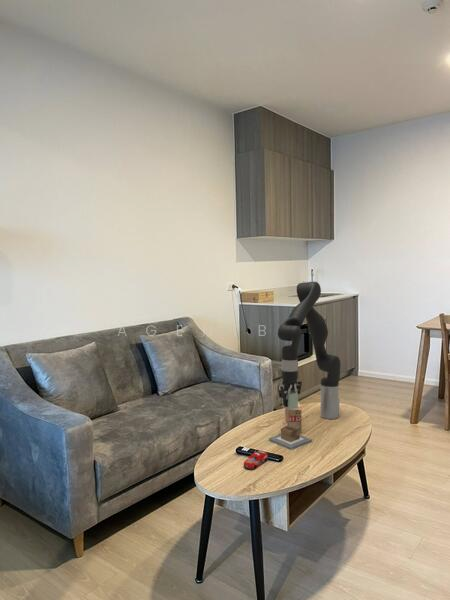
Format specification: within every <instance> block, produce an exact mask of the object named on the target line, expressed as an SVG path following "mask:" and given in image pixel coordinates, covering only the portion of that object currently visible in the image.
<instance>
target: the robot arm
mask: <svg viewBox="0 0 450 600" xmlns="http://www.w3.org/2000/svg"><path fill="white" fill-rule="evenodd" d="M321 293H322V288H321V284H320V283H319V282H318V281H306V282H300V283H298V284H297V286H296V294H297V298H298V300H299V303H298V304H297V305H295V306H294V308H293V309H292V310H291V312H290V314H289V316H288V318H287V319H285V320H284V321H283V322H282V323H281V324H280V325H279V327H278V331H277V337H278V339H279V340H281V341H287V342H291V344H290V345H285V346H282V348H281V379H282V383H281V385H277V392H278V397H279V398H280V399H282V398H283V406H284V407H288V394H290V391H292V392H297V393H298V395H300V394H301V391H302V384H303V382H302V381H300V380H299V362H298V361H299V360H298V352H299V351H298V350H299V345H300V341H301V338H302V329H301V327H302V326H303V324H304V322H305V321H306V324H307V328H308V331H309V334H310V338H311V342H312V345H313V349H314V355H315V359H316V364H317V367H318V369H319V370H320V371H323V372H326V373H327V377H326V376H325V377H323V378H321V379H320V417H321V418H323V419H327V420H336V419H338V418H339V417H340V398H339V393H340V391H339V381H340V378H341V360H340V357H339V356H338V355H333V354H329V353H327V350H326V341H327V338H328V335H329V330H328V326H327V322H326V319H325V318H324V317H323V316H322V314H320V313H319V312H318V311H317V310H316V309H315V308H314V306H315V304H316V303H317V302H318V300H319V298H320V296H321V295H322V294H321ZM286 391H288V392H286ZM285 393H286V396H285Z"/></svg>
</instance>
